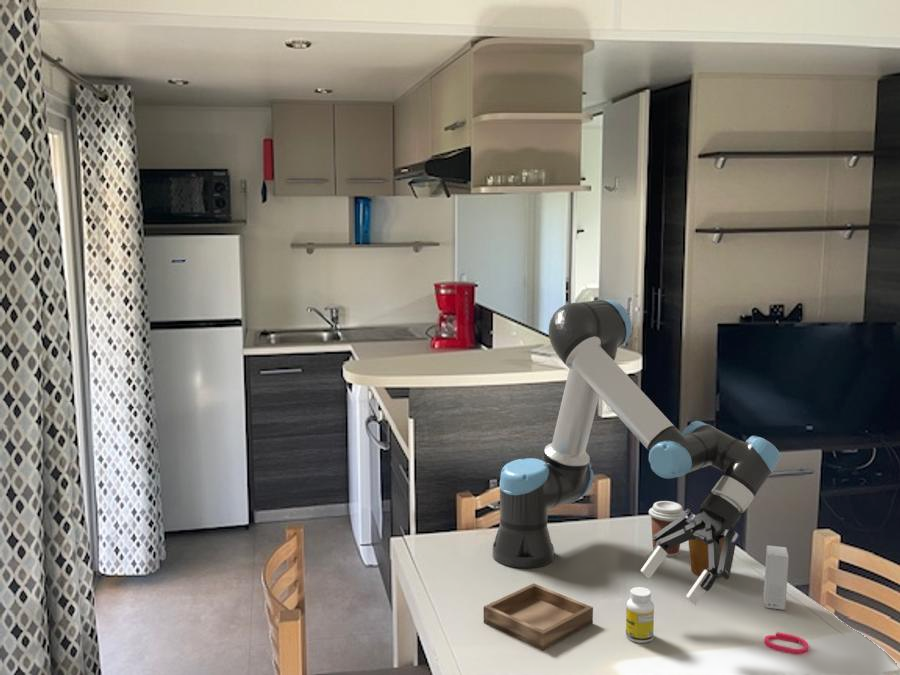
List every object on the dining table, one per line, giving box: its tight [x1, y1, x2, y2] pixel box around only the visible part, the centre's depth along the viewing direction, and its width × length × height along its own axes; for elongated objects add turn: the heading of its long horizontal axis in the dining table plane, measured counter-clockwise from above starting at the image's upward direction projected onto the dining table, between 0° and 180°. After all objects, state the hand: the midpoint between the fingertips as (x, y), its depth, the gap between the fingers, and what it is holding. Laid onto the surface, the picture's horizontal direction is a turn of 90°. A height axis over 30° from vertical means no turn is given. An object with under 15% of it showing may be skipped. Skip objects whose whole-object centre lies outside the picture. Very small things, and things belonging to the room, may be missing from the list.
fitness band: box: [763, 631, 810, 655], centre depth 169 cm, size 8×6×2 cm
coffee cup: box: [648, 500, 686, 557], centre depth 215 cm, size 9×9×12 cm
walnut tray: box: [483, 583, 594, 651], centre depth 178 cm, size 16×16×4 cm
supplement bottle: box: [625, 586, 655, 644], centre depth 172 cm, size 5×5×10 cm
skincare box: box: [763, 545, 790, 611], centre depth 186 cm, size 6×4×12 cm
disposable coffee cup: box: [688, 530, 724, 577], centre depth 203 cm, size 10×10×12 cm
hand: (666, 587), depth 172 cm, fingers open, 13 cm apart
